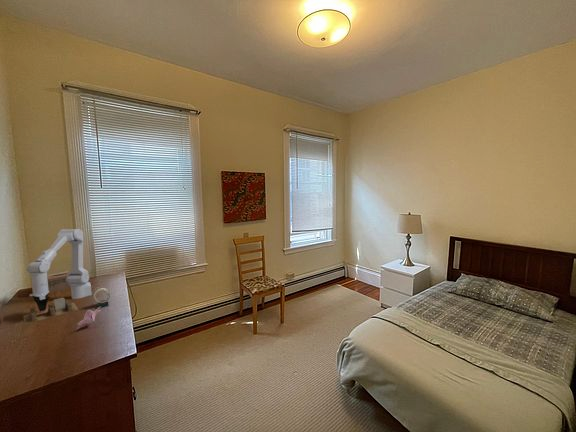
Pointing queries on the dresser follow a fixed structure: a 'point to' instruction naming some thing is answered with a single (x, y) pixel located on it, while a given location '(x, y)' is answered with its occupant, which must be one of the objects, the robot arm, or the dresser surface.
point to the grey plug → (59, 304)
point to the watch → (104, 302)
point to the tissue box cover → (58, 281)
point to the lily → (89, 317)
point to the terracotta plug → (39, 310)
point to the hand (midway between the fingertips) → (42, 309)
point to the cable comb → (51, 312)
